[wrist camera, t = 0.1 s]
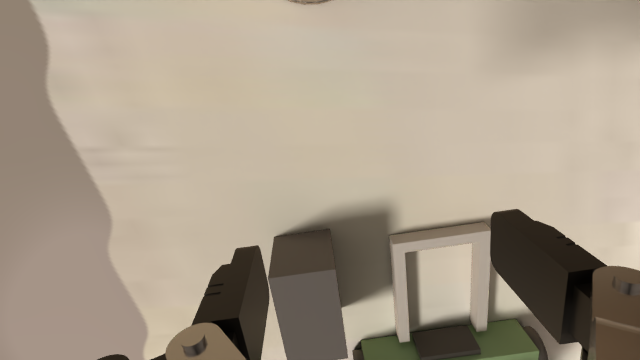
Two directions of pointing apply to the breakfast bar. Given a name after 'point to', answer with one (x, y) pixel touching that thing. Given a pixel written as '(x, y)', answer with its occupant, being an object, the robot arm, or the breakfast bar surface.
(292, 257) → the grey rectangular block
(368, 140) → the breakfast bar surface
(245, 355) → the robot arm
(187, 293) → the breakfast bar surface
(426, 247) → the toy tractor
